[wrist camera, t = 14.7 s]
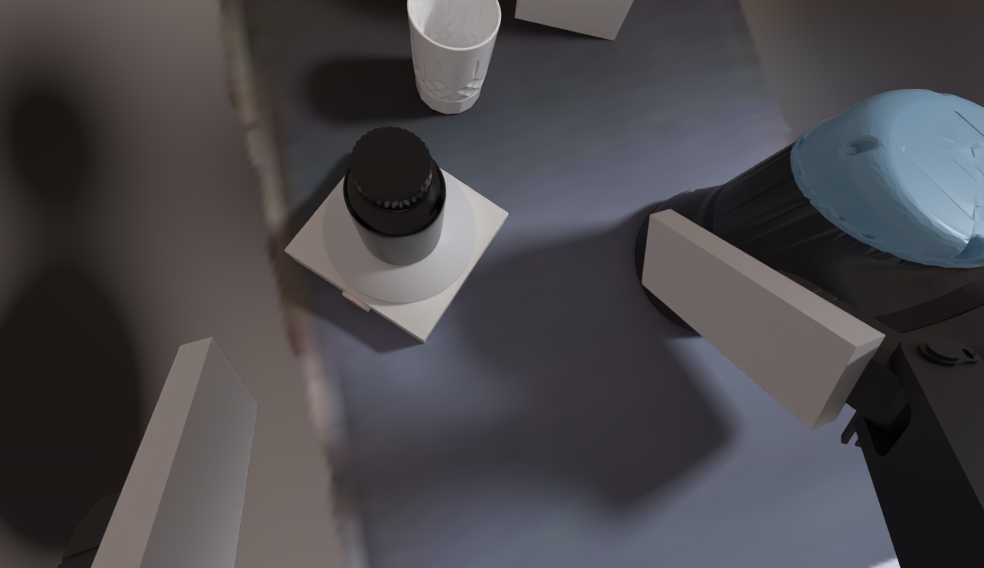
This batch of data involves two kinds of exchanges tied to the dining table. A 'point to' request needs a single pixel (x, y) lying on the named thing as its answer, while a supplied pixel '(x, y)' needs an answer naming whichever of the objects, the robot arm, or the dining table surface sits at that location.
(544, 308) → the dining table surface
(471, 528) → the dining table surface
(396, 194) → the supplement bottle
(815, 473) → the dining table surface
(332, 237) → the dial scale
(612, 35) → the milk
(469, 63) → the white cup
